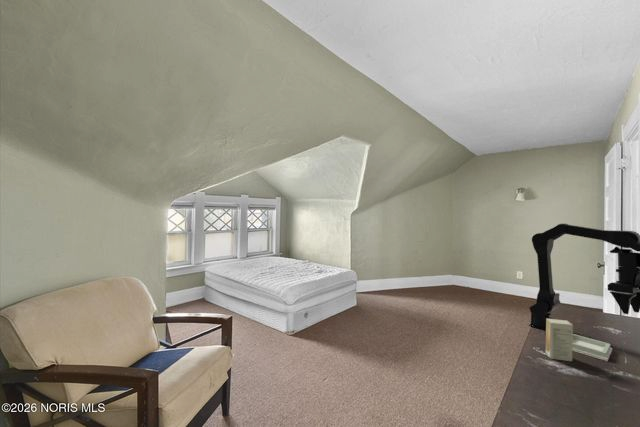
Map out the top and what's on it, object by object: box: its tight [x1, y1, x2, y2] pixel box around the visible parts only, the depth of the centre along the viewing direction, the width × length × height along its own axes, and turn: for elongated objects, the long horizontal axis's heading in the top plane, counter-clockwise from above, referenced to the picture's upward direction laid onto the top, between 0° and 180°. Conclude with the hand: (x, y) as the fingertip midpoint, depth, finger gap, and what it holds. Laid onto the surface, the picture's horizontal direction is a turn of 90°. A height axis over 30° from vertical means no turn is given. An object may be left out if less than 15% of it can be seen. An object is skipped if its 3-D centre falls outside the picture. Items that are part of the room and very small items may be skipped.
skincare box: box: [545, 318, 574, 362], centre depth 99 cm, size 6×4×12 cm
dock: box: [572, 333, 613, 362], centre depth 106 cm, size 12×12×2 cm
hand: (631, 313), depth 102 cm, fingers open, 9 cm apart
